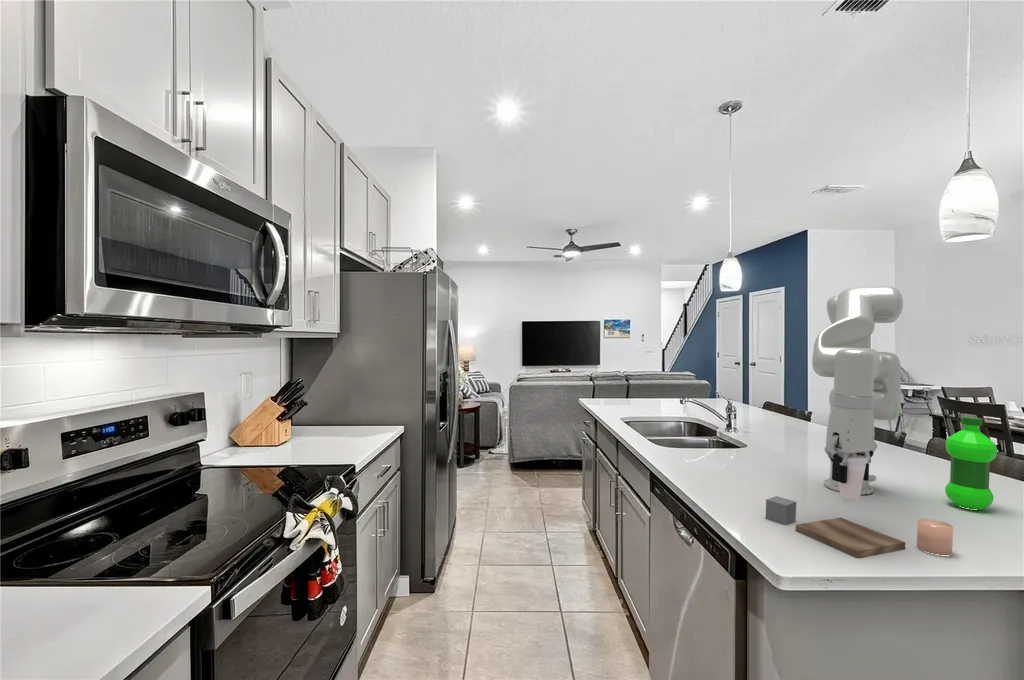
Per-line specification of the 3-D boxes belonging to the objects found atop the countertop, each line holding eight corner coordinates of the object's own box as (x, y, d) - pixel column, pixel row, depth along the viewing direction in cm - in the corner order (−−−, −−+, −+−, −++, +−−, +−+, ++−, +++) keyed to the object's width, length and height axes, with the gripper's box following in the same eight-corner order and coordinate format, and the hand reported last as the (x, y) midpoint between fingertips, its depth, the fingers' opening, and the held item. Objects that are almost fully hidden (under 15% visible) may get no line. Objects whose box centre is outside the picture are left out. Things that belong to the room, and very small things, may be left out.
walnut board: (840, 523, 124) (840, 517, 124) (905, 548, 110) (905, 542, 110) (795, 530, 119) (795, 524, 119) (857, 558, 105) (857, 551, 105)
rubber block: (775, 515, 130) (776, 496, 129) (795, 521, 125) (796, 501, 125) (765, 518, 127) (766, 499, 127) (785, 525, 123) (786, 505, 122)
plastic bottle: (944, 498, 145) (948, 413, 144) (995, 508, 137) (998, 418, 137) (941, 506, 138) (944, 417, 137) (994, 517, 130) (997, 422, 130)
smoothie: (856, 503, 110) (859, 441, 110) (827, 494, 116) (829, 435, 115) (872, 499, 113) (875, 438, 113) (842, 491, 119) (845, 433, 118)
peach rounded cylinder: (927, 543, 113) (928, 517, 113) (958, 554, 108) (959, 527, 108) (910, 546, 111) (911, 520, 111) (940, 558, 106) (941, 530, 106)
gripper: (862, 399, 120) (860, 473, 121) (810, 401, 114) (807, 478, 115) (895, 404, 113) (892, 482, 114) (841, 406, 107) (838, 488, 108)
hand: (850, 479), depth 114 cm, fingers closed on smoothie, 6 cm apart
